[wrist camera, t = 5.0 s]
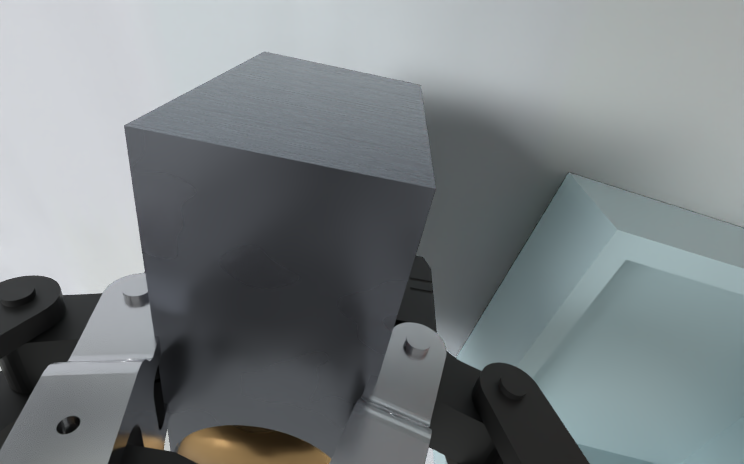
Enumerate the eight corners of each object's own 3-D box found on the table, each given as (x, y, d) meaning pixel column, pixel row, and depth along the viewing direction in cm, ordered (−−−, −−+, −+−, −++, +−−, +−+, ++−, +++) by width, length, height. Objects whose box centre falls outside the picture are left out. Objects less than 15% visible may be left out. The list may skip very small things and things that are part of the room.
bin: (430, 400, 22) (434, 476, 19) (568, 172, 15) (617, 229, 11) (667, 460, 23) (711, 542, 20) (901, 278, 16) (1034, 357, 13)
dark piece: (252, 330, 15) (177, 503, 10) (264, 51, 10) (123, 125, 5) (356, 349, 16) (332, 529, 11) (420, 84, 10) (435, 188, 5)
